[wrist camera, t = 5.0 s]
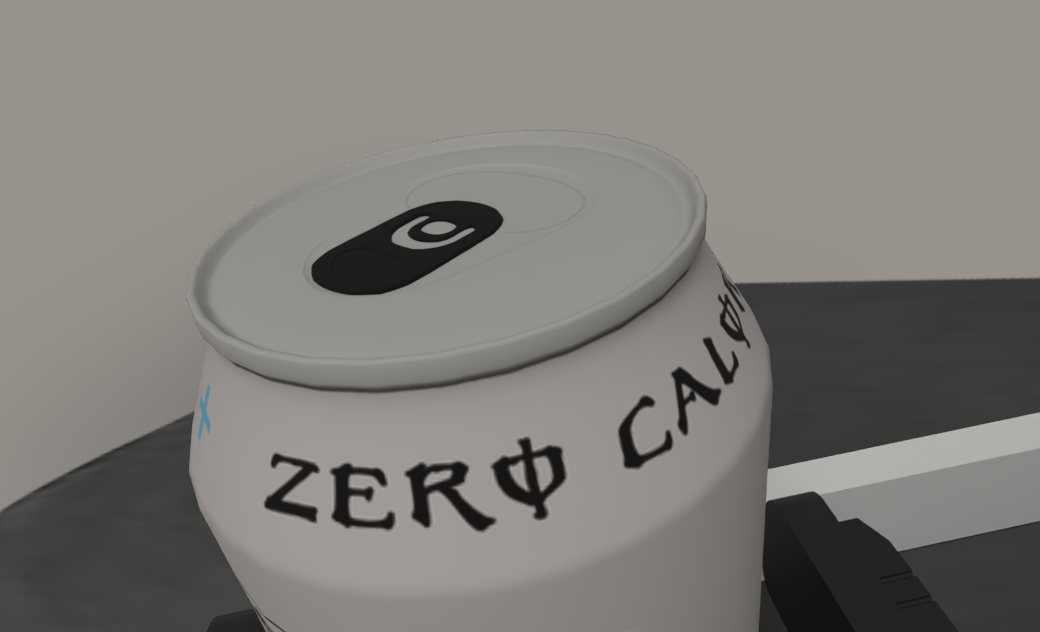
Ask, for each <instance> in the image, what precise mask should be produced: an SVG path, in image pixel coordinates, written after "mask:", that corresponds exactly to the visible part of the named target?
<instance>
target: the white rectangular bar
mask: <svg viewBox="0 0 1040 632" xmlns="http://www.w3.org/2000/svg"><path fill="white" fill-rule="evenodd" d="M810 491H814V492H816V493H818V494H819V495H820V496H821V497H822V498H823V500H824V501H825V502H826V504H827V505H828V507H829V508H830V510H831V511H832V512H833V514H834V515H835V517H836V518H837V520H838V521H839V522H841V521H845V520H850V519H854V518H858V519H860V520H861V521H863V522H864V523H865V524H867V525H868V526H870V527H871V528H872V529H874V530H875V531H877V532H878V533H879V534H881V535H882V536H884V537H885V538H886V539H888V540H889V541H890V542H891V543H892V545H893V546H894V547H895V549H896V550H897V551H902V550H907V549H912V548H916V547H921V546H926V545H930V544H935V543H939V542H944V541H949V540H953V539H958V538H963V537H967V536H972V535H976V534H981V533H986V532H990V531H995V530H999V529H1004V528H1009V527H1013V526H1018V525H1023V524H1027V523H1032V522H1036V521H1040V413H1035V414H1031V415H1026V416H1021V417H1016V418H1011V419H1007V420H1002V421H997V422H992V423H988V424H983V425H978V426H973V427H968V428H964V429H959V430H954V431H949V432H945V433H940V434H935V435H930V436H925V437H921V438H916V439H911V440H906V441H902V442H897V443H892V444H887V445H882V446H878V447H873V448H868V449H863V450H859V451H854V452H849V453H844V454H839V455H835V456H830V457H825V458H820V459H816V460H811V461H806V462H801V463H796V464H792V465H787V466H782V467H777V468H773V469H768V474H767V492H766V502H767V501H769V500H773V499H778V498H782V497H787V496H792V495H796V494H801V493H806V492H810ZM764 580H765V579H764V574H763V569H762V580H761V581H764Z"/></svg>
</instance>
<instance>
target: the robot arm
mask: <svg viewBox="0 0 1040 632" xmlns="http://www.w3.org/2000/svg"><path fill="white" fill-rule="evenodd" d="M762 569H763V574H764V579H765V582H766V586H767V589H768V591H769V594H770V596H771V599H772V601H773V603H774V605H775V607H776V609H777V611H778V612H779V614H780V616H781V618H782V620H783V622H784V624H785V626H786V628H787V630H788V631H789V632H958V631H957V629H956V628H955V627H954V625H953V624H952V623H951V621H950V620H949V619H948V617H947V616H946V615H945V613H944V612H943V611H942V609H941V608H940V607H939V605H938V604H937V603H936V601H935V602H933V601H932V599H931V595H930V594H929V592H928V591H927V590H926V588H925V587H924V586H923V584H922V583H921V582H920V580H919V579H918V578H917V576H915V577H914V575H913V574H912V570H911V568H910V567H909V566H908V564H907V563H906V562H905V560H904V559H903V558H902V557H901V555H900V554H899V553H898V551H897V550H896V549H895V547H894V546H893V545H892V543H891V542H890V541H889V540H888V539H886V538H885V537H884V536H882V535H881V534H879V533H878V532H877V531H875V530H874V529H872V528H871V527H870V526H868V525H867V524H865V523H864V522H863V521H861V520H860V519H858V518H854V519H850V520H845V521H841V522H839V521H838V520H837V518H836V517H835V515H834V514H833V512H832V511H831V510H830V508H829V507H828V505H827V504H826V502H825V501H824V500H823V498H822V497H821V496H820V495H819V494H818V493H816V492H814V491H810V492H806V493H801V494H796V495H792V496H787V497H782V498H778V499H773V500H769V501H767V502H766V509H765V527H764V544H763V562H762ZM207 632H266V631H265V629H264V627H263V625H262V623H261V621H260V619H259V618H258V616H257V614H256V612H255V610H254V609H249V610H245V611H240V612H235V613H230V614H226V615H221V616H217V617H215V618H214V619H213V620H212V621H211V623H210V625H209V628H208V631H207Z"/></svg>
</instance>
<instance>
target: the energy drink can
mask: <svg viewBox="0 0 1040 632" xmlns="http://www.w3.org/2000/svg"><path fill="white" fill-rule="evenodd" d="M706 209H707V201H706V195H705V193H704V191H703V189H702V186H701V184H700V182H699V180H698V178H697V176H696V175H695V174H694V173H693V172H692V171H691V170H689V168H688V167H686V166H685V165H684V164H683V163H682V162H681V161H680V160H679V159H677V158H675V157H673V156H671V155H669V154H667V153H665V152H663V151H661V150H659V149H658V148H655V147H653V146H650V145H646V144H643V143H640V142H636V141H633V140H630V139H627V138H621V137H615V136H609V135H604V134H598V133H589V132H576V131H562V130H524V131H509V132H494V133H484V134H477V135H469V136H461V137H453V138H447V139H442V140H437V141H432V142H426V143H421V144H416V145H412V146H408V147H403V148H399V149H396V150H391V151H387V152H384V153H380V154H376V155H373V156H370V157H366V158H363V159H360V160H357V161H354V162H351V163H347V164H344V165H341V166H339V167H336V168H334V169H331V170H329V171H326V172H323V173H321V174H318V175H316V176H313V177H310V178H308V179H306V180H304V181H302V182H299V183H297V184H295V185H293V186H291V187H289V188H287V189H285V190H283V191H281V192H278V193H276V194H275V195H273V196H271V197H269V198H268V199H266V200H264V201H263V202H261V203H259V204H258V205H256V206H254V207H253V208H251V209H249V210H247V211H246V212H245V213H243V214H242V215H241V216H239V217H238V218H237V219H235V220H234V221H233V222H231V223H230V224H229V225H228V226H226V227H225V228H224V229H222V230H221V231H220V232H219V233H218V234H217V235H216V236H215V238H213V240H212V241H211V242H210V243H209V244H208V245H207V246H206V247H205V248H204V249H203V250H202V251H201V253H200V255H199V257H198V258H197V260H196V262H195V264H194V266H193V268H192V270H191V272H190V273H189V278H188V287H187V296H186V300H187V303H188V306H189V308H190V311H191V313H192V316H193V318H194V320H195V323H196V325H197V327H198V330H199V332H200V334H201V335H202V337H203V339H205V340H206V341H207V342H208V344H207V349H206V355H205V361H204V366H203V371H202V377H201V382H200V387H199V392H198V397H197V403H196V408H195V413H194V419H193V424H192V438H191V452H190V467H189V473H190V476H191V480H192V483H193V487H194V490H195V494H196V497H197V501H198V504H199V508H200V510H201V512H202V514H203V516H204V518H205V519H206V521H207V523H208V525H209V527H210V529H211V530H212V532H213V534H214V536H215V538H216V540H217V542H218V543H219V545H220V547H221V549H222V551H223V553H224V555H225V556H226V558H227V560H228V562H229V564H230V566H231V568H232V569H233V571H234V573H235V575H236V577H237V579H238V581H239V582H240V584H241V586H242V588H243V590H244V592H245V594H246V595H247V597H248V599H249V601H250V603H251V605H252V607H253V608H254V610H255V612H256V614H257V616H258V618H259V619H260V621H261V623H262V625H263V627H264V629H265V631H266V632H759V615H760V597H761V580H762V562H763V544H764V527H765V509H766V492H767V474H768V456H769V439H770V421H771V404H772V386H773V385H772V374H771V364H770V353H769V348H768V345H767V343H766V341H765V339H764V336H763V334H762V332H761V330H760V328H759V325H758V323H757V321H756V319H755V317H754V315H753V313H752V311H751V309H750V307H749V306H748V304H747V303H746V301H745V300H744V298H743V296H742V295H741V293H740V292H739V290H738V289H737V287H736V286H735V284H734V283H733V281H732V280H731V278H730V277H729V275H728V274H727V273H726V271H725V270H724V268H723V267H722V265H721V264H720V262H719V261H718V259H717V258H716V256H715V255H714V253H713V252H712V250H711V248H710V247H709V245H708V244H707V242H706V241H705V233H706V211H707V210H706Z"/></svg>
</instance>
